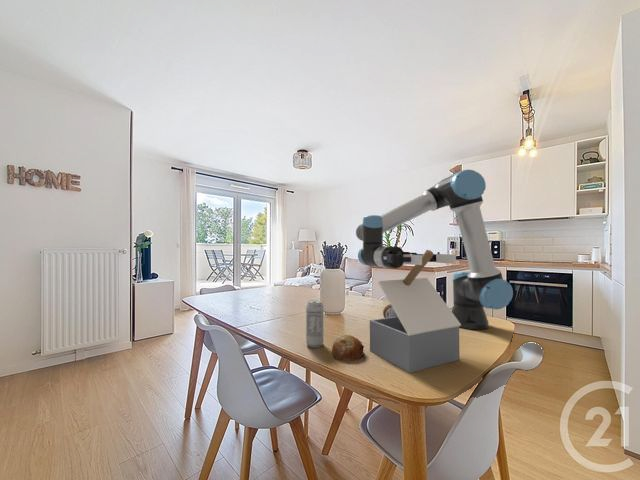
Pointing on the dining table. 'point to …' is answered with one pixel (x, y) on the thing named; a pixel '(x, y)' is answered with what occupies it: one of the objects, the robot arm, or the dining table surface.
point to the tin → (389, 312)
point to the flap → (418, 302)
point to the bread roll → (347, 348)
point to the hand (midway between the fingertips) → (438, 259)
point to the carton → (413, 345)
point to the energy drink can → (314, 323)
